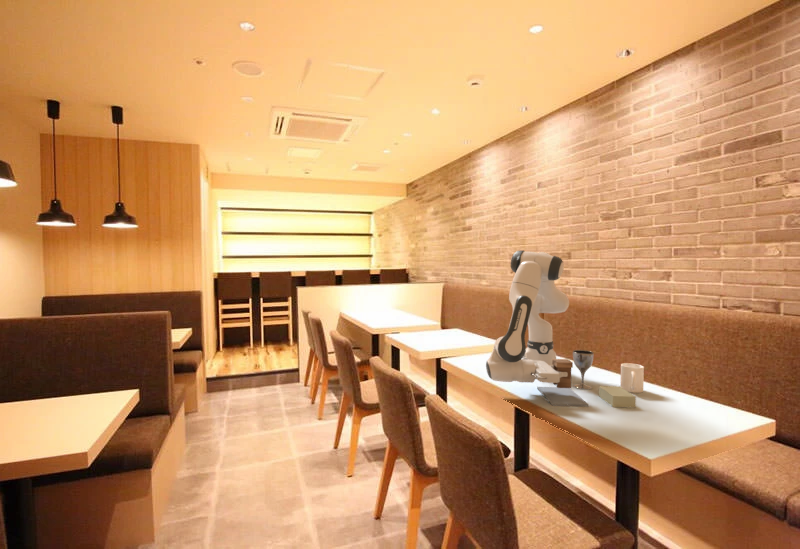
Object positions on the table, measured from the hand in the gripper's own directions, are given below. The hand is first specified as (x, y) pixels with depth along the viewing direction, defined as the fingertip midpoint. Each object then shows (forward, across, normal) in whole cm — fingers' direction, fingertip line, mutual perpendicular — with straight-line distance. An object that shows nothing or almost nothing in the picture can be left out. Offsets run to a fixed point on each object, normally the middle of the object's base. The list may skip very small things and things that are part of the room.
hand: (563, 371), depth 159 cm
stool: (+3, 0, +4) cm, 5 cm away
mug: (+31, +9, +10) cm, 34 cm away
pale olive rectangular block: (+18, -4, +10) cm, 21 cm away
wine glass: (+13, +14, +10) cm, 22 cm away
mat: (-1, 0, +10) cm, 10 cm away
